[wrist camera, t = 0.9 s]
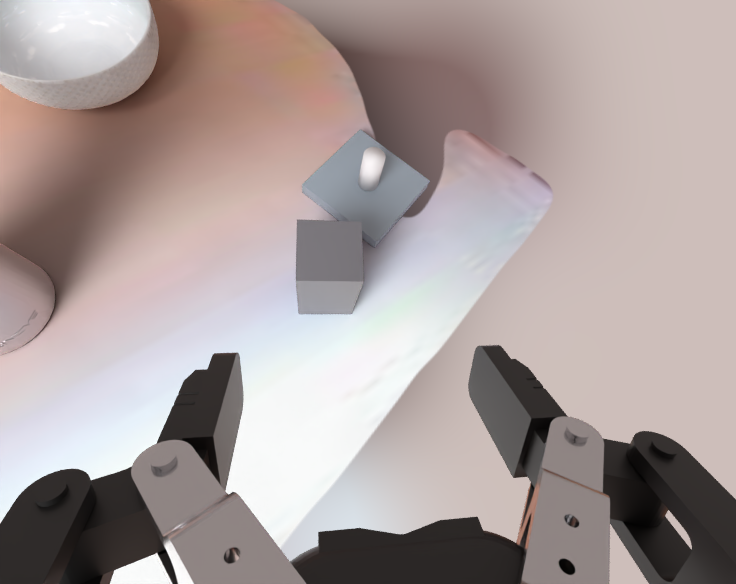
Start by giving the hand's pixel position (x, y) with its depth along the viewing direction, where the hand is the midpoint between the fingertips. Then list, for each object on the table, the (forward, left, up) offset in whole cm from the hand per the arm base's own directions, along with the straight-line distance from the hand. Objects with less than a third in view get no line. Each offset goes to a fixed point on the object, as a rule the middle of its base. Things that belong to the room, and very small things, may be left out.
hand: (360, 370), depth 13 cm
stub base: (-11, +21, -25) cm, 34 cm away
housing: (-7, +9, -25) cm, 27 cm away
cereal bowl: (-43, +12, -25) cm, 51 cm away
